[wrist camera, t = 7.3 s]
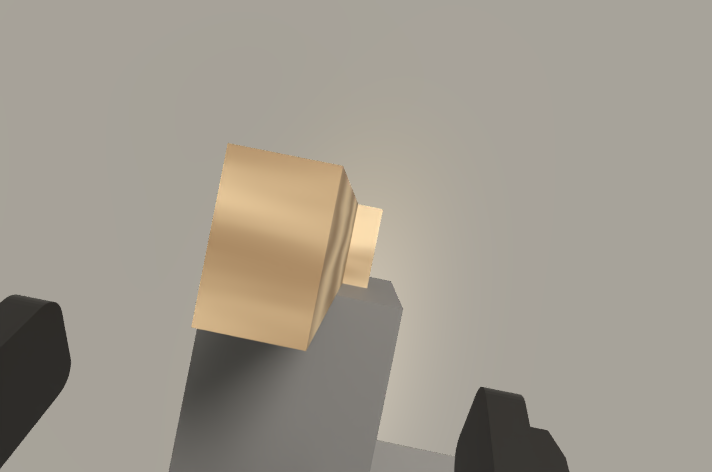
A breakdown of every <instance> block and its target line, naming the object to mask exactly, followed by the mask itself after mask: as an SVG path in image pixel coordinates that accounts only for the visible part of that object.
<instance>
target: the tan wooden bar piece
mask: <svg viewBox="0 0 712 472" xmlns="http://www.w3.org/2000/svg"><path fill="white" fill-rule="evenodd" d="M382 211H383V209H379V208H373V207H369V206H363V205H358V203H357V200H356V198H355V195H354V193H353V190H352V188H351V185H350V182H349V180H348V177H347V175H346V172H345V170H344V167H343V166H340V165H335V164H330V163H325V162H320V161H315V160H310V159H305V158H300V157H295V156H289V155H285V154H280V153H275V152H270V151H264V150H259V149H255V148H249V147H244V146H239V145H234V144H229V143H228V145H227V150H226V155H225V160H224V165H223V170H222V175H221V180H220V185H219V191H218V195H217V200H216V206H215V211H214V216H213V221H212V226H211V231H210V236H209V241H208V246H207V251H206V256H205V261H204V266H203V271H202V276H201V281H200V286H199V291H198V297H197V302H196V307H195V312H194V317H193V322H192V328H197V329H202V330H207V331H211V332H216V333H221V334H226V335H231V336H236V337H240V338H245V339H250V340H255V341H260V342H265V343H269V344H274V345H279V346H284V347H289V348H293V349H298V350H303V351H306V350H307V348H308V346H309V344H310V343H311V341H312V339H313V337H314V335H315V333H316V331H317V330H318V328H319V326H320V324H321V322H322V320H323V318H324V317H325V315H326V313H327V311H328V309H329V307H330V305H331V304H332V302H333V300H334V298H335V296H336V294H337V292H338V290H339V289H340V287H341V285H342V283H344V284H349V285H353V286H358V287H363V288H367V286H368V281H369V276H370V271H371V266H372V261H373V256H374V251H375V246H376V241H377V236H378V231H379V226H380V221H381V216H382Z"/></svg>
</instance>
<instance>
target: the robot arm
mask: <svg viewBox="0 0 712 472" xmlns="http://www.w3.org/2000/svg"><path fill="white" fill-rule="evenodd" d="M70 367H71V359H70V353H69V348H68V342H67V337H66V331H65V327H64V321H63V315H62V311H61V308H60V306H59V305H58V304H57V303H56V302H50V301H46V300H41V299H36V298H30V297H26V296H21V295H11V296H9V297H7V298H6V299H4V300H3V301H2V302H1V303H0V468H1V467H2V466H3V464H4V463H5V462H6V461H7V459H8V458H9V457H10V456H11V454H12V453H13V452H14V451H15V449H16V448H17V447H18V446H19V444H20V443H21V442H22V440H23V439H24V438H25V437H26V435H27V434H28V433H29V432H30V430H31V429H32V428H33V427H34V425H35V424H36V423H37V422H38V420H39V419H40V418H41V416H42V415H43V414H44V413H45V411H46V410H47V409H48V407H49V406H50V405H51V404H52V402H53V401H54V400H55V399H56V398H57V396H58V395H59V393H60V392H61V391H62V389H63V388H64V385H65V383H66V381H67V379H68V376H69V372H70ZM454 472H569V469H568V465H567V461H566V458H565V456H564V455H563V453H562V452H561V450H560V448H559V447H558V445H557V444H556V442H555V441H554V439H553V438H552V436H551V435H550V433H549V432H548V431H547V430H543V429H538V428H533V427H530V424H529V419H528V414H527V409H526V404H525V401H524V398H523V397H522V395H519V394H514V393H509V392H504V391H499V390H494V389H489V388H484V387H480V388H479V390H478V391H477V393H476V396H475V399H474V401H473V404H472V406H471V409H470V411H469V414H468V416H467V419H466V421H465V424H464V427H463V429H462V432H461V434H460V437H459V440H458V443H457V448H456V454H455V464H454Z"/></svg>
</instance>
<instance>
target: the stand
mask: <svg viewBox="0 0 712 472" xmlns="http://www.w3.org/2000/svg"><path fill="white" fill-rule="evenodd" d="M402 311H403V308H402V306H401V303H400V301H399V299H398V297H397V294H396V292H395V290H394V287H393V285H392V283H391V281H387V280H382V279H377V278H372V277H369V281H368V286H367V288H363V287H358V286H353V285H349V284H344V283H342V285H341V287H340V289H339V290H338V292H337V294H336V296H335V298H334V300H333V302H332V304H331V305H330V307H329V309H328V311H327V313H326V315H325V317H324V318H323V320H322V322H321V324H320V326H319V328H318V330H317V331H316V333H315V335H314V337H313V339H312V341H311V343H310V344H309V346H308V348H307V350H306V351H303V350H298V349H293V348H289V347H284V346H279V345H274V344H269V343H265V342H260V341H255V340H250V339H245V338H240V337H236V336H231V335H226V334H221V333H216V332H211V331H207V330H202V329H197V332H196V337H195V342H194V347H193V352H192V357H191V362H190V367H189V373H188V377H187V383H186V387H185V392H184V397H183V402H182V408H181V412H180V418H179V423H178V428H177V433H176V438H175V443H174V448H173V453H172V458H171V463H170V468H169V472H454V464H455V456H450V455H446V454H441V453H436V452H431V451H427V450H422V449H417V448H412V447H407V446H402V445H398V444H393V443H389V442H384V441H379V440H377V434H378V429H379V425H380V420H381V414H382V410H383V405H384V400H385V394H386V390H387V385H388V380H389V375H390V370H391V365H392V361H393V355H394V351H395V346H396V341H397V336H398V331H399V326H400V321H401V316H402Z"/></svg>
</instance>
